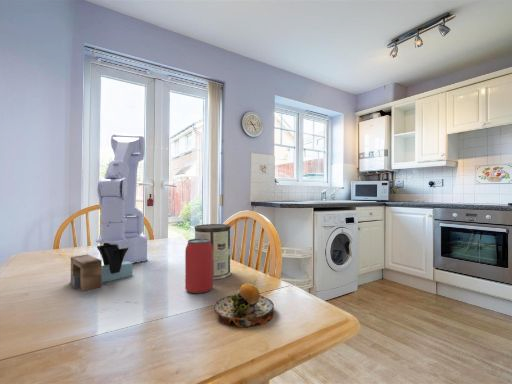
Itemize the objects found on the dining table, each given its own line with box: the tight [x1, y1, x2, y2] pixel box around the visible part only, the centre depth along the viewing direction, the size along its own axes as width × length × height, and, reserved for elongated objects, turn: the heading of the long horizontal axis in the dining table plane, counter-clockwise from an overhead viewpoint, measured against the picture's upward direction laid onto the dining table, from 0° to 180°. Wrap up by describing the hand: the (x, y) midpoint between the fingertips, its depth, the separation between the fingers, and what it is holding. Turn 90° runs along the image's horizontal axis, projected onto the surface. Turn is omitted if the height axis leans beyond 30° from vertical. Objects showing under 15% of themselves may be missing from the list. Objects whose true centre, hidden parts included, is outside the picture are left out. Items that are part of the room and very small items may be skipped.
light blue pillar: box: [71, 261, 133, 289], centre depth 72 cm, size 14×3×4 cm, turn 139°
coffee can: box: [194, 223, 231, 281], centre depth 77 cm, size 10×10×14 cm
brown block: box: [70, 254, 103, 292], centre depth 68 cm, size 4×10×7 cm, turn 49°
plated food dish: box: [214, 278, 275, 329], centre depth 52 cm, size 12×12×8 cm
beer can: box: [184, 238, 214, 294], centre depth 65 cm, size 7×7×12 cm
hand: (112, 271), depth 73 cm, fingers closed on light blue pillar, 3 cm apart
